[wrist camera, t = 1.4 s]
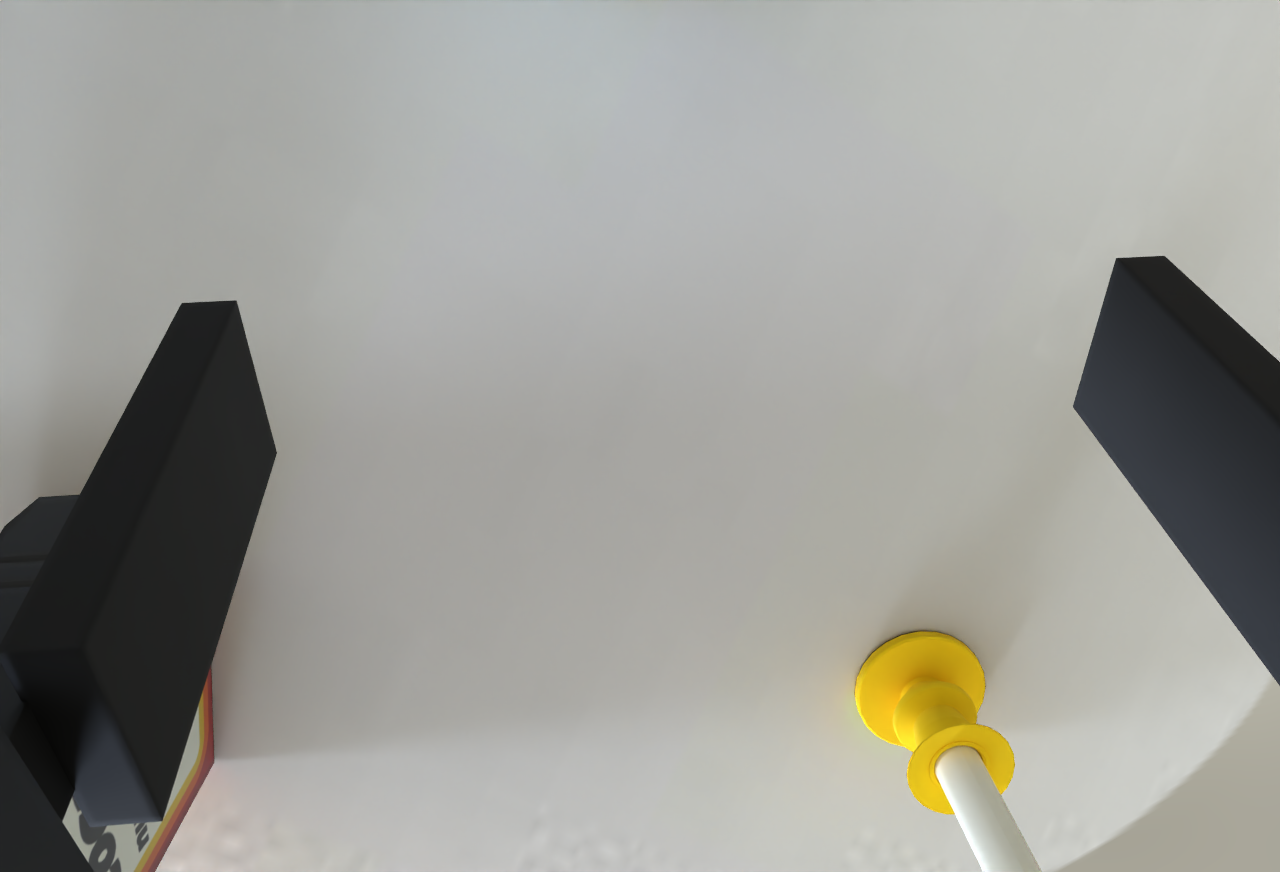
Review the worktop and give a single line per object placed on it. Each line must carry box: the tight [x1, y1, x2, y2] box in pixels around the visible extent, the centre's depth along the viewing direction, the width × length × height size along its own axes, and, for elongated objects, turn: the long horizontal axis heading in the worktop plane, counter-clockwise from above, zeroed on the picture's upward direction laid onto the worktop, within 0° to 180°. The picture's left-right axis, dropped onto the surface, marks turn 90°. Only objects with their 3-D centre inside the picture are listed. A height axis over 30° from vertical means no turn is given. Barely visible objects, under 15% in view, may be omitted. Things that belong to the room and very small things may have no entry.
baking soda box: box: [62, 667, 214, 872], centre depth 33 cm, size 10×6×16 cm
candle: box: [855, 631, 1042, 872], centre depth 35 cm, size 5×5×16 cm
